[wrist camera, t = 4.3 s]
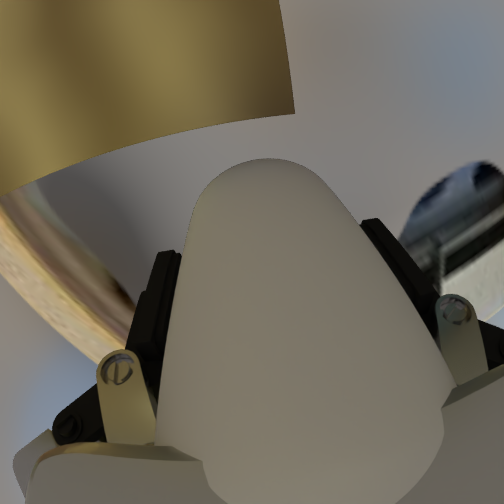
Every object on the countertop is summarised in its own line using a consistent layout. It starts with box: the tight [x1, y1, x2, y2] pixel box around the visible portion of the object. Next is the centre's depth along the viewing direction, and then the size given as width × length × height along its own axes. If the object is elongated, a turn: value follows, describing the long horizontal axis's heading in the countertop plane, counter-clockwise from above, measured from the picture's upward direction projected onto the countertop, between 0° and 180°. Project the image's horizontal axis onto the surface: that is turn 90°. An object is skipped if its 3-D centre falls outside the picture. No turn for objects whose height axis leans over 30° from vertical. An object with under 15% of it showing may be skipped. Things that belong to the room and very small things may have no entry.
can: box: [154, 159, 457, 504], centre depth 8 cm, size 6×6×12 cm
